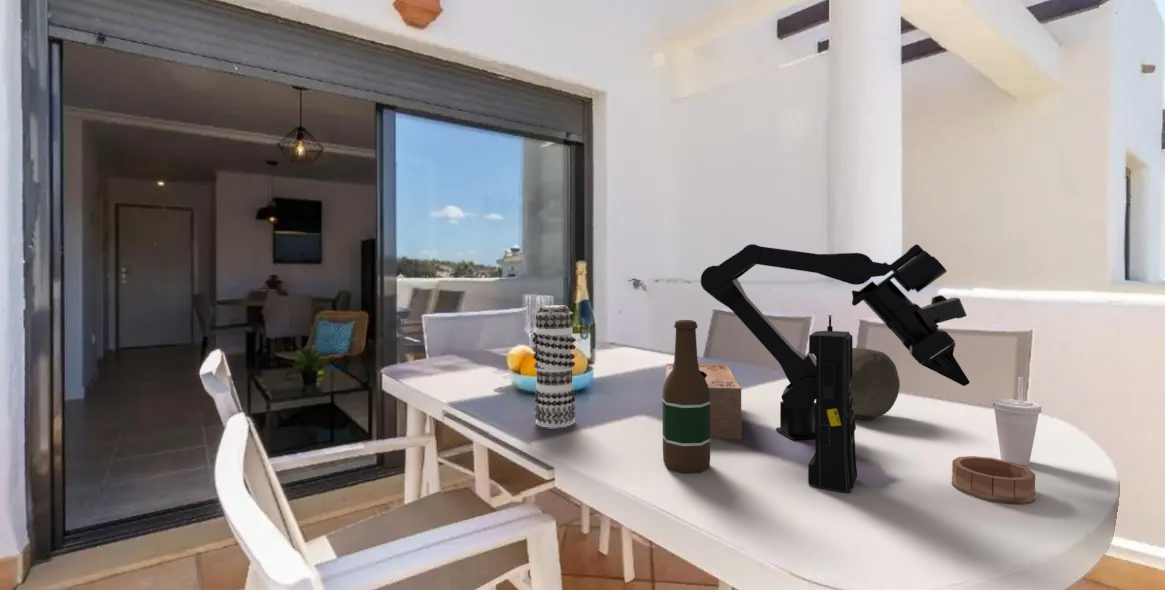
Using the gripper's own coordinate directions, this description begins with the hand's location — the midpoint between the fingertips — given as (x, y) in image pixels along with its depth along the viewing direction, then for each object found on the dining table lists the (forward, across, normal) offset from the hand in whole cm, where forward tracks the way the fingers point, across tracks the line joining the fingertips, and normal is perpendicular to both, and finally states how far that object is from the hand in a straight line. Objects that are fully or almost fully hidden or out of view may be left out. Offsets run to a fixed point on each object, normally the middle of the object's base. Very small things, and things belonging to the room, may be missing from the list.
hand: (961, 379), depth 93 cm
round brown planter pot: (+10, -17, +8) cm, 21 cm away
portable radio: (-3, -24, +23) cm, 33 cm away
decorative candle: (-38, -12, +64) cm, 76 cm away
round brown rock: (0, +19, +20) cm, 27 cm away
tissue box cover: (-20, +3, +44) cm, 48 cm away
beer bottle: (-17, -25, +40) cm, 50 cm away
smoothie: (+15, -1, +3) cm, 15 cm away
